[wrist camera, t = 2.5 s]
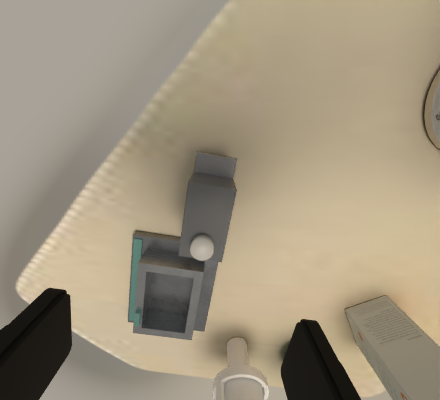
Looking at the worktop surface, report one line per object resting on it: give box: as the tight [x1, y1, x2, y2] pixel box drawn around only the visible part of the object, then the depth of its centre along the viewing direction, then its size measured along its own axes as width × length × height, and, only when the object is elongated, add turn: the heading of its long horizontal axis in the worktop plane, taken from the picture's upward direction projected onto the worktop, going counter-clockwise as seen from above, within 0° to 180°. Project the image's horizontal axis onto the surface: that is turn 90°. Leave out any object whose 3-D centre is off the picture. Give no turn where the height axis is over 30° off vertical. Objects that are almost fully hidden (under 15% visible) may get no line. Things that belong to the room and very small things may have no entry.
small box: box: [345, 295, 440, 400], centre depth 26 cm, size 8×6×13 cm
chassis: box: [128, 231, 218, 340], centre depth 28 cm, size 14×11×4 cm
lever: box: [178, 151, 237, 262], centre depth 22 cm, size 11×4×9 cm, turn 170°
